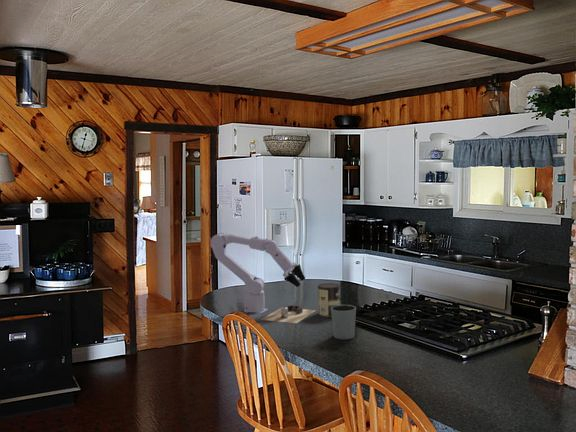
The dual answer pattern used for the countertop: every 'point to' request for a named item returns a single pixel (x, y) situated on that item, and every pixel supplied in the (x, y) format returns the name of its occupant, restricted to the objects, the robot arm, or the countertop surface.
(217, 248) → the robot arm
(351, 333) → the grey cup
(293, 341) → the countertop surface
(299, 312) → the c ring
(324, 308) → the coffee can
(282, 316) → the piston post
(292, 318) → the board
